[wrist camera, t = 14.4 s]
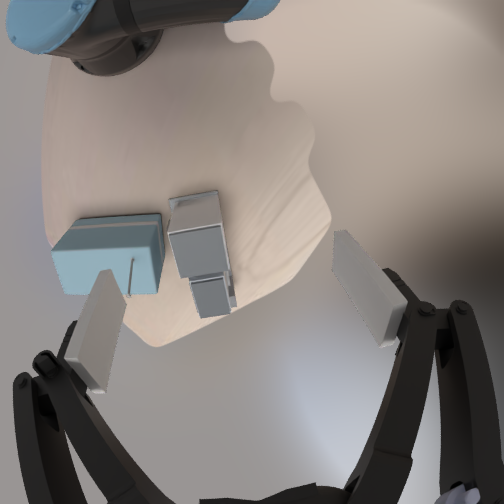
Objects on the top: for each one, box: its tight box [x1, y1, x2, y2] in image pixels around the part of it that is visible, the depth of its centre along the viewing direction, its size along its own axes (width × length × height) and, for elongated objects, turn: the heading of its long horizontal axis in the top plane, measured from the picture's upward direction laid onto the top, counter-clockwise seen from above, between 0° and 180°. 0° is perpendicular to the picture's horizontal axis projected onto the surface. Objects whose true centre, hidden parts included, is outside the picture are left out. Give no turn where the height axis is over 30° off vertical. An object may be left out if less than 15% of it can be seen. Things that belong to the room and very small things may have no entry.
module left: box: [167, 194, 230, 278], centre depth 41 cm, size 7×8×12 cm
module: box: [189, 271, 231, 318], centre depth 44 cm, size 7×5×8 cm
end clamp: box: [196, 276, 237, 312], centre depth 51 cm, size 2×7×6 cm, turn 96°
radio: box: [51, 214, 165, 298], centre depth 38 cm, size 16×9×20 cm, turn 87°
